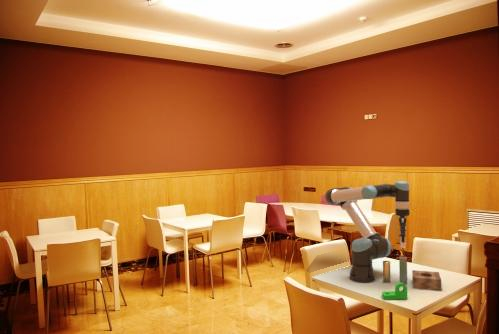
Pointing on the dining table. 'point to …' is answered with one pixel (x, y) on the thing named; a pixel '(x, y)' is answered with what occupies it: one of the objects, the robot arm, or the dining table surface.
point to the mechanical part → (396, 292)
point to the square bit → (403, 269)
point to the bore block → (426, 280)
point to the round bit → (386, 272)
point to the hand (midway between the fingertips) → (402, 245)
